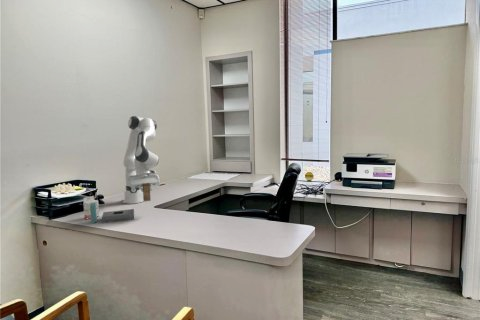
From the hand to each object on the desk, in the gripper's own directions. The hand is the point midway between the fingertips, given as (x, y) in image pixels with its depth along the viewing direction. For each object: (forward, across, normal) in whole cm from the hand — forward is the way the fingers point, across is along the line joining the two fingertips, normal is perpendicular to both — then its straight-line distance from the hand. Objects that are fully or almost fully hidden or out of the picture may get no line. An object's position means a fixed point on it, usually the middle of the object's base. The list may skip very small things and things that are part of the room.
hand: (146, 190), depth 224 cm
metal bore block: (+8, -18, +19) cm, 27 cm away
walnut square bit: (+4, 0, +5) cm, 7 cm away
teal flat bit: (+7, -34, +20) cm, 40 cm away
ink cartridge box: (-1, -34, +28) cm, 44 cm away
